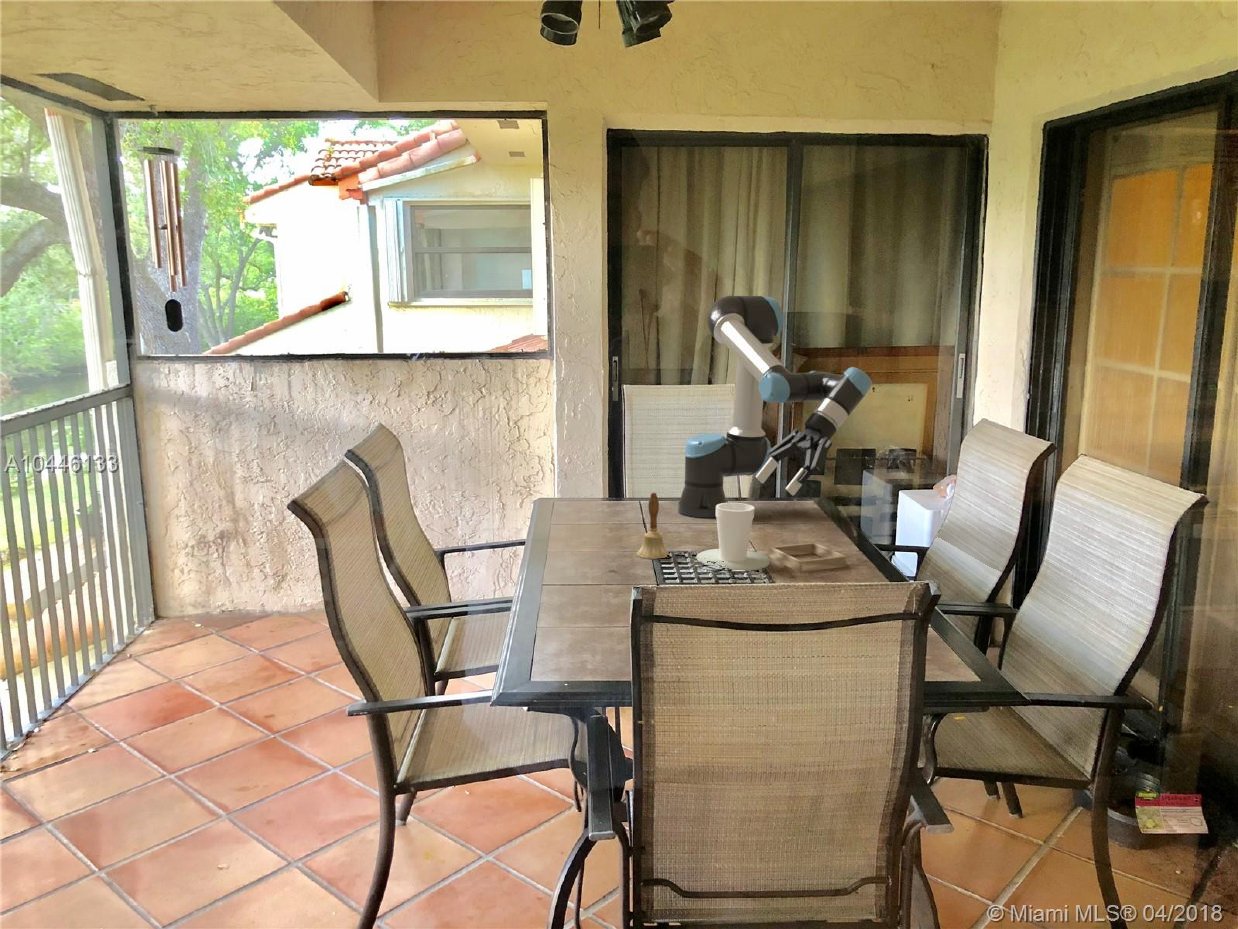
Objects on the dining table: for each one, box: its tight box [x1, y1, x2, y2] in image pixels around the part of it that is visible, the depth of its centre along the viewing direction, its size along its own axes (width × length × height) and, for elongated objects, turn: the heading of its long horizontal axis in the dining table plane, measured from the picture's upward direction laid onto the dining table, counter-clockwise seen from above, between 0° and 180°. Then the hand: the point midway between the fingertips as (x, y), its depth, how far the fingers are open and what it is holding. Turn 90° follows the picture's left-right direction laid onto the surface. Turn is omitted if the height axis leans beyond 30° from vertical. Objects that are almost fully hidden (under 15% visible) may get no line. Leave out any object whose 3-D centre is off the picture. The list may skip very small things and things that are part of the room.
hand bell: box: [636, 492, 670, 561], centre depth 226 cm, size 8×8×16 cm
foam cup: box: [715, 502, 755, 562], centre depth 223 cm, size 10×9×13 cm
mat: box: [695, 548, 771, 571], centre depth 224 cm, size 18×18×1 cm
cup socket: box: [768, 542, 848, 573], centre depth 224 cm, size 14×14×2 cm
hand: (773, 486), depth 226 cm, fingers open, 13 cm apart
